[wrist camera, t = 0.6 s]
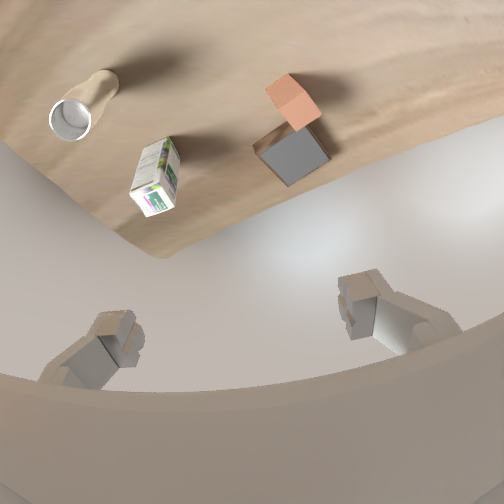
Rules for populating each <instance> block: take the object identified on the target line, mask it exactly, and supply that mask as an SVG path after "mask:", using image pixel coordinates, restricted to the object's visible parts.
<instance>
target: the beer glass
mask: <svg viewBox="0 0 504 504" xmlns="http://www.w3.org/2000/svg"><path fill="white" fill-rule="evenodd" d="M118 88H119V80H118V77H117V76H116V74H115V73H113V72H112V71H109V70H100V71H97V72H95V73H94V74H93V75H92V76H91V77H90V78H89V80H88V81H86V82H83V83H81V84H79V85H77V86H75V87H73V88H72V89H71V90H69V91H68V92H67V93H66V94H65V95H64V96H63V97H62V98H61V99H60V100H59V101H58V103H56V104H55V106H54V107H53V109H52V110H51V113H50V119H49V121H50V126H51V129H52V131H53V133H54V134H55V135H56V136H57V137H58V138H60V139H62V140H64V141H68V142H74V141H78V140H80V139H82V138H83V137H85V136H86V135H87V133H88V132H89V131H90V130H91V129H92V128H93V126H94V125H95V124H96V123H97V121H98V120H99V119H100V117H101V116H102V114H103V112H104V110H105V107H106V104H107V101H108V100H109V99H111V98H112V97H113V96H114V95H115V94H116V93H117V91H118Z"/></svg>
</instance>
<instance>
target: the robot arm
mask: <svg viewBox="0 0 504 504" xmlns="http://www.w3.org/2000/svg"><path fill="white" fill-rule="evenodd" d="M338 288H339V290H340V292H341V293H340V295H339V296H338V304H339V310H340V314H341V317H342V320H344V321H345V322H346V329H347V332H348V334H349V337H350V339H351V340H355V339H359V338H364V337H369V336H373V337H374V338H375V339H377V340H378V341H380V342H381V343H382V344H384V345H385V346H387V347H388V348H389V349H391V350H392V351H394V352H395V353H396V354H398V355H399V356H397V357H393V358H390V359H387V360H384V361H380V362H377V363H373V364H369V365H366V366H362V367H358V368H355V369H350V370H346V371H342V372H338V373H334V374H329V375H325V376H319V377H314V378H309V379H304V380H298V381H292V382H286V383H280V384H273V385H265V386H257V387H249V388H240V389H229V390H216V391H200V392H170V393H169V392H166V393H156V392H154V393H152V392H151V393H150V392H122V391H107V390H101V388H102V387H103V386H104V385H105V384H106V383H107V382H108V381H109V379H110V378H111V377H112V376H113V375H114V374H115V373H116V372H117V371H118V369H119V368H125V367H136V365H137V362H138V360H139V357H140V354H139V352H138V351H139V350H141V349H142V348H143V345H144V342H145V340H144V338H145V336H144V332H143V329H142V328H141V326H140V325H139V324H137V323H136V322H135V321H136V316H135V315H134V313H133V311H131V310H120V311H111V312H109V311H108V312H101V313H99V315H98V317H97V318H96V320H95V321H94V323H93V325H92V326H91V328H90V330H89V331H88V333H87V335H86V337H82V338H80V339H79V340H78V341H77V342H75V343H74V344H73V345H71V346H70V347H69V348H67V349H66V350H65V351H64V352H62V353H61V354H59V355H58V356H57V357H55V358H54V359H53V360H52V361H51V362H49V363H48V364H47V365H46V367H45V368H44V370H43V372H42V374H41V376H40V378H39V379H38V381H32V380H28V379H23V378H18V377H14V376H10V375H6V374H2V373H0V504H504V313H502V314H500V315H498V316H496V317H494V318H492V319H490V320H488V321H486V322H484V323H482V324H480V325H477V326H475V327H473V328H471V329H469V330H466V331H464V332H463V331H462V330H461V328H460V327H459V325H458V324H457V323H456V322H455V320H454V319H453V318H452V316H451V315H450V314H449V313H448V312H446V311H444V310H441V309H439V308H437V307H434V306H432V305H429V304H427V303H425V302H422V301H420V300H417V299H415V298H413V297H410V296H408V295H405V294H403V293H400V292H398V291H397V292H394V291H393V290H392V288H391V287H390V285H389V284H388V283H387V281H386V280H385V279H384V277H383V276H382V275H381V273H380V272H379V271H378V270H377V269H372V270H368V271H365V272H361V273H357V274H352V275H348V276H343V277H339V278H338Z"/></svg>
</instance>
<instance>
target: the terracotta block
mask: <svg viewBox="0 0 504 504" xmlns="http://www.w3.org/2000/svg"><path fill="white" fill-rule="evenodd" d="M265 90H266V92H267V93H268V95H269V96H270V98H271V99H272V101H273V103H274V104H275V106H276V107H277V109H278V110H279V112H280V113H281V114H282V115H283V116H284V117H285V119H286V120H287V121H288V122H289V124H290V125H291V126H292V127H293V128H294V130H295V131H296V132H297V131H298V130H300V129H301V128H303V127H304V126H306V125H307V124H309V123H310V122H312V121H313V120H315V119H316V118H318V117H320V116H321V115H322V113H321V112H320V110H319V109H318V108H317V106H316V105H315V103H314V102H313V100H312V99H311V98H310V96H309V95H308V94H307V92H306V91H305V90H304V89H303V88H302V87H301V86H300V85H299V84H298V83H297V82H296V81H295V80H294V79H293V78H292V77H291V76H290V75H289V74H286V75H285V76H283V77H282V78H280V79H279V80H277V81H276V82H274V83H273V84H271V85H270V86H269V87H267V88H266V89H265Z"/></svg>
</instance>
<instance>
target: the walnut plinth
mask: <svg viewBox="0 0 504 504" xmlns="http://www.w3.org/2000/svg"><path fill="white" fill-rule="evenodd" d="M253 147H254V150H255V154H256V155H257V156H258V157H259V158H260V159H261V160H262V161H263V162H264V163H265V164H266V165H267V166H268V167H269V168H270V169H271V170H272V171H273V172H274V173H275V174H276V176H277V177H278V178H279V179H280V180H281V181H282V182H283V183H284V184H285V185H286V186H287V187H289V186H291V185H292V184H294V183H295V182H297V181H298V180H300V179H301V178H303V177H304V176H306V175H308V174H309V173H311V172H312V171H314V170H315V169H317V168H319V167H320V166H322V165H323V164H325V163H326V162H328V161H330V160H331V157H330V156H329V154H328V153H327V151H326V150H325V148H324V147H323V145H322V144H321V142H320V141H319V140H318V138H317V137H316V136H315V134H314V133H313V131H312V130H311V129H310V127H309V126H308V125H306V126H304V127H303V128H301V129H300V130H298V131H297V132H296V131H295V130H294V128H293V127H292V126H291V125H290V124H289V122H288V121H286V122H285V123H283V124H282V125H280V126H279V127H277V128H276V129H275V130H273V131H272V132H270V133H269V134H268V135H266V136H265V137H263V138H262V139H261V140H259V141H258V142H256V143H255V144H254V145H253Z"/></svg>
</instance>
